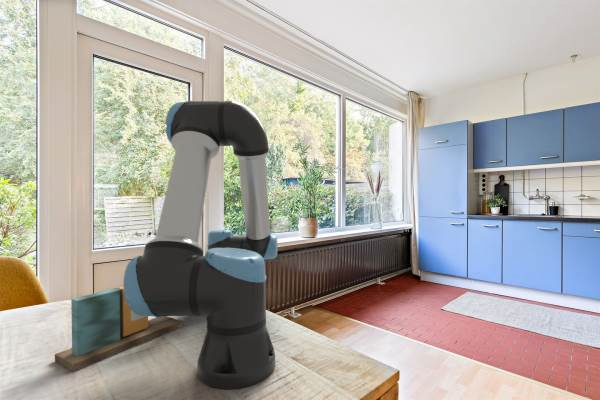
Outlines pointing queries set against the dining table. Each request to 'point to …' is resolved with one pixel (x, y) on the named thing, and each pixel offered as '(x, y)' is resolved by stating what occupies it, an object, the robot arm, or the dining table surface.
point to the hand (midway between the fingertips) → (118, 310)
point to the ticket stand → (104, 330)
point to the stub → (127, 323)
